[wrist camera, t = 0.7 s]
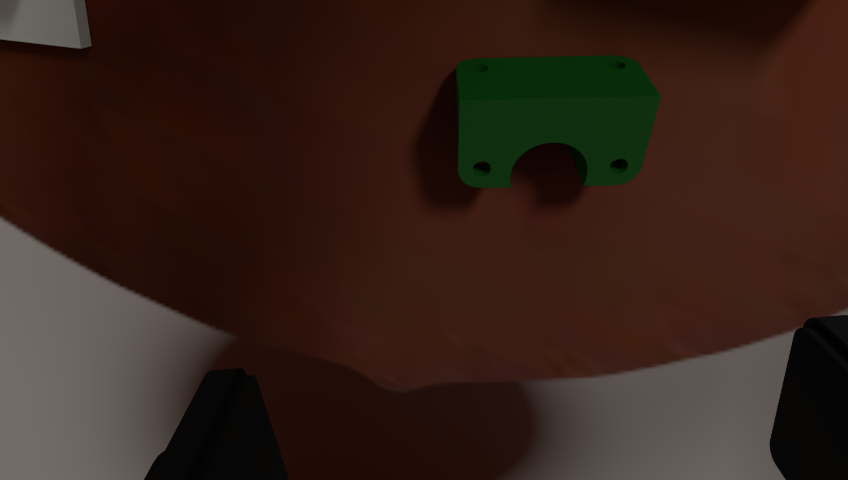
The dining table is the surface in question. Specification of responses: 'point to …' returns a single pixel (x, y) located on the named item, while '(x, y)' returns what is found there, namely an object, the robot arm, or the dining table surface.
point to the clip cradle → (45, 22)
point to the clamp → (553, 115)
